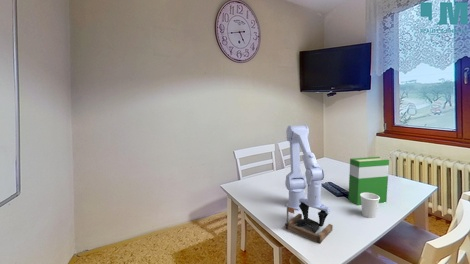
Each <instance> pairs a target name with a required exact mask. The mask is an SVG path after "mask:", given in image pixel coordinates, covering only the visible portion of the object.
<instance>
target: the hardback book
mask: <svg viewBox="0 0 470 264" xmlns="http://www.w3.org/2000/svg"><path fill="white" fill-rule="evenodd" d="M389 167H390V159H387V158H386V159H383V158H380V156H370V157H355V158H354V157H353V158H350V159H349V176H348V177H349V178H348V201H349V202H351V203H352V204H354V205H356V206H357V207H358V206H361V196H360V194H361V193H373V194H376V195H378V196H379V197H380V199H379V203H378V204H384V202H386V203H387V202H388V201H387V199H388V198H387V197H388V181H389Z"/></svg>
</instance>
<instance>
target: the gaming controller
mask: <svg viewBox="0 0 470 264" xmlns="http://www.w3.org/2000/svg"><path fill="white" fill-rule="evenodd" d="M305 224H306V225H308V226H310V227H311V232H313V233H315V234H317V233H318V231H319V229H320V226H319V221H315V220H313V219H311V218H309V216H308V217H306V218H305V219H304V218H302V219H301V220H299V221H298V222H297V224H296V226H298V227H301V226H304V225H305Z"/></svg>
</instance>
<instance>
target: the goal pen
mask: <svg viewBox="0 0 470 264" xmlns="http://www.w3.org/2000/svg"><path fill="white" fill-rule="evenodd" d="M290 213H291V214H293V215H294V214H295V209H294V208H291V207H289V206H286V223H285V224H284V229H285V230H287V231H289V232H292V233H294V234H296V235H299V236H301V237H302V238H303V237H304V238H306V239H308V240H311V241H314V242H316V243H318V244H322V242H323V241H324V240H325V239H326V238H327V237H328V236H329V235H330V233H332V232H333V226H334V225H333V224H331V223H328V224H327V226H326V227H324V228H323V230H321V231H320V232H319V233H318V234H317V233H313V232H312V231H310V230H308V229H305V228H302V227H301V226H297V222H298V221H299V220H301V219H303V213H297V214H296V215H294V217H292V218H290V217H289V215H290ZM289 219H290V220H289Z"/></svg>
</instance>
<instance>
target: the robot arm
mask: <svg viewBox="0 0 470 264" xmlns="http://www.w3.org/2000/svg"><path fill="white" fill-rule="evenodd" d="M285 130H286V141H287V142H289V153H290V154H289V156H290V157H289V158H290V172H289V173H288V174H286V175H285V176H286V177H285V183H284V185H285V188H286V190H288V203H286V204H285V207H287V206H289V207H290V208H293V209H294V210H297V211H299V210H300V211H301V214H302V218H303V219H305V218H306V217H308V218H309V210H310V208H313V209H317V210H318V212H317V215H318V219H319V220H318V223H319V228H322V227H323V226H324V224H325V221H326V219H327V217H328V215H330V212H331V208H330V207H328V206H326V205H325V204H323V203H322V181H323V180H324V178H325V172H324V169H323V168H322V167H321V165H320V164H319V163H318V161H317V158H316V155H315V153H313V152H312V151H311V145H310V143H309V133H310V129H309V126H308V125H307V124H303V125H301V124H300V125H287V127H286V129H285ZM300 149H301V150H300ZM300 151H302V154H303V155H302V157H301V155H300ZM300 157H301V158H300ZM301 159H302V161H303V164H304V167H305V172H304V174H303V173H302V172H301ZM305 189H307V192H306V191H305ZM306 193H307V196H306ZM306 197H307V198H306Z"/></svg>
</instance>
